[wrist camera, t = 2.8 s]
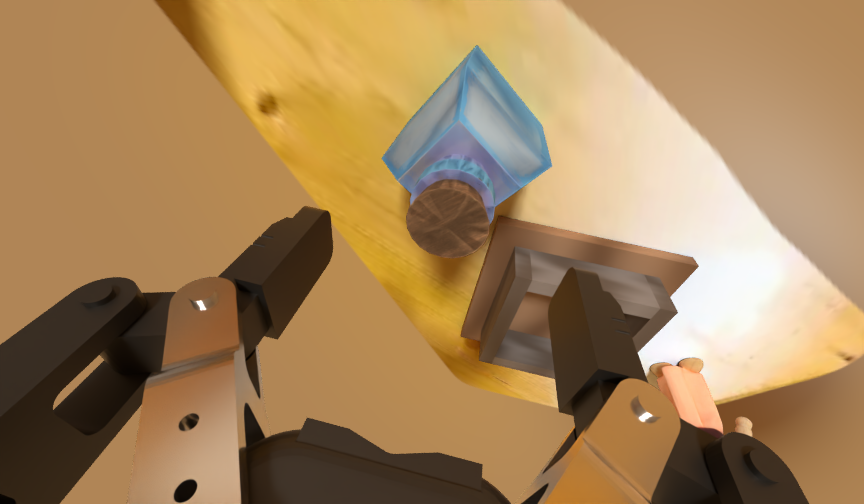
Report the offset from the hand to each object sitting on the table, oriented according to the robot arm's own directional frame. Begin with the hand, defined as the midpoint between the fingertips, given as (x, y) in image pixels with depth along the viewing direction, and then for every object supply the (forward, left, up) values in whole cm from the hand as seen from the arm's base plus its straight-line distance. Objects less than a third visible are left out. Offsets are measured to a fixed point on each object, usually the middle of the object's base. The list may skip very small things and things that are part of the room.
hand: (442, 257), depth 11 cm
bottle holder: (+11, -14, -14) cm, 22 cm away
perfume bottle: (0, 0, -14) cm, 14 cm away
